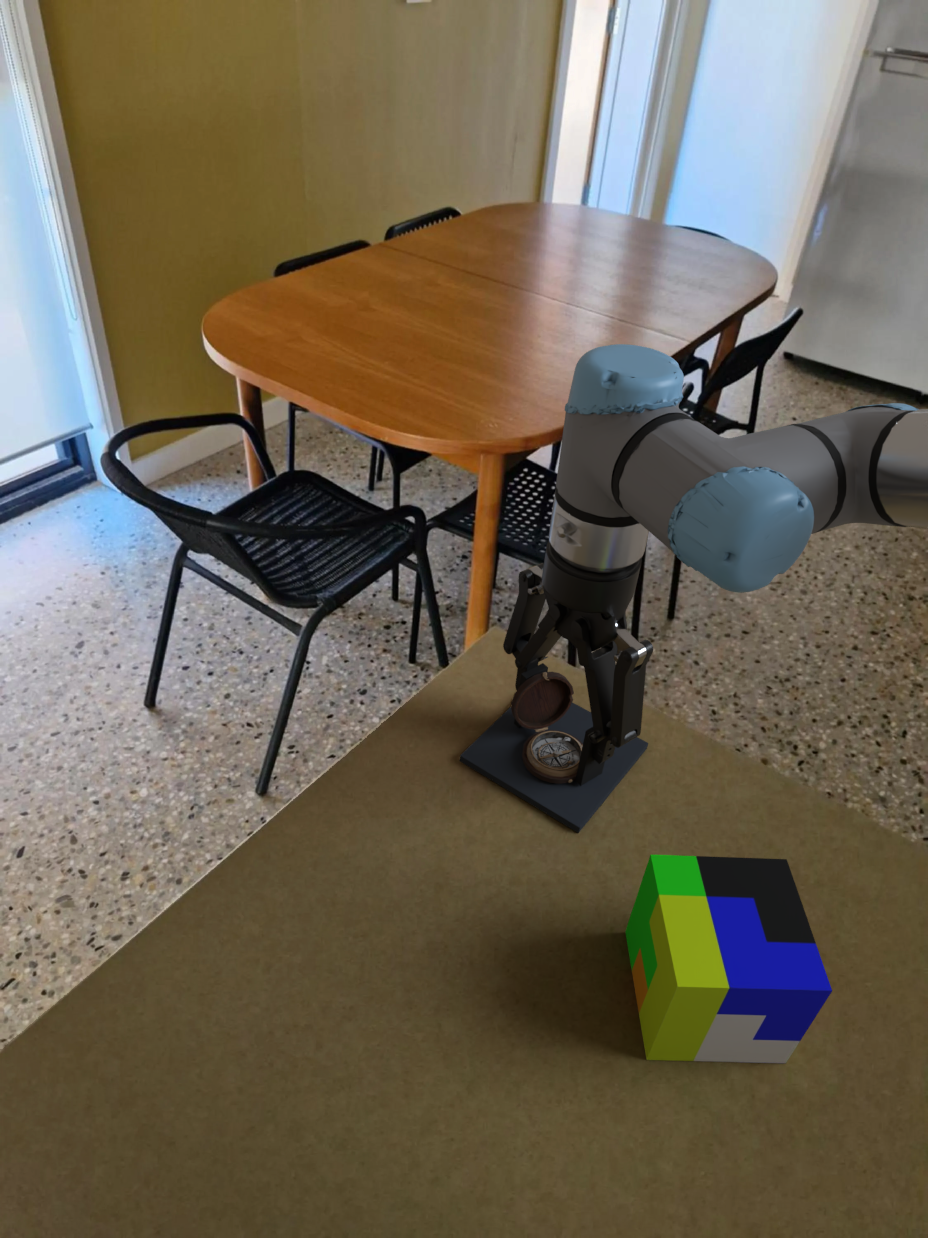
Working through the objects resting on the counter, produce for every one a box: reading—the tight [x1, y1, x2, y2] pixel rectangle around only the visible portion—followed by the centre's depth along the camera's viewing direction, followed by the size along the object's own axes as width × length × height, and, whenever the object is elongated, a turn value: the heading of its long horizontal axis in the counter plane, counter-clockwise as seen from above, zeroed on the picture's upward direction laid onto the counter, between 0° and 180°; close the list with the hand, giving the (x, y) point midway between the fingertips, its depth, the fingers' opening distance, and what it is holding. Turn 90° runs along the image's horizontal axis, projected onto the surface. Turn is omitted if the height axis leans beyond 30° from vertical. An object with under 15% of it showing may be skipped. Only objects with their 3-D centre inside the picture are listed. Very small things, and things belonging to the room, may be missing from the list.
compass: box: [510, 671, 583, 784], centre depth 81 cm, size 8×8×7 cm
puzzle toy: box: [624, 854, 833, 1064], centre depth 63 cm, size 10×10×10 cm
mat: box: [459, 701, 649, 834], centre depth 84 cm, size 13×13×1 cm
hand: (556, 747), depth 83 cm, fingers closed on compass, 8 cm apart
